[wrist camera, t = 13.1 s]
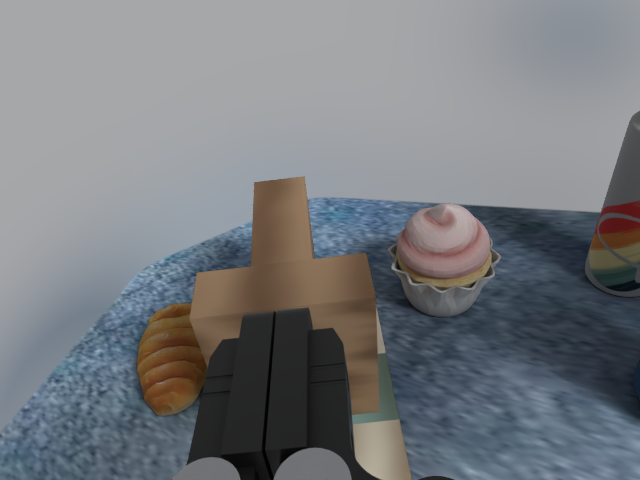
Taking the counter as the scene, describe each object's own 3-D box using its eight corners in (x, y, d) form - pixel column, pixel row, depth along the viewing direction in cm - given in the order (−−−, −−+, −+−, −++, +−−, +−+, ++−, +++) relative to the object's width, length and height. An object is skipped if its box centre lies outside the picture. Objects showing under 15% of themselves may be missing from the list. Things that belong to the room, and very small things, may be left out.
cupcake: (367, 301, 47) (363, 212, 41) (424, 247, 52) (428, 161, 46) (458, 351, 42) (470, 259, 36) (512, 286, 47) (530, 195, 41)
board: (368, 272, 50) (368, 269, 50) (448, 666, 27) (449, 664, 27) (234, 287, 50) (234, 284, 50) (199, 692, 27) (197, 691, 27)
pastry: (218, 414, 40) (206, 385, 38) (130, 426, 40) (113, 398, 37) (223, 322, 47) (213, 293, 45) (149, 333, 47) (136, 304, 45)
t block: (355, 280, 49) (348, 171, 41) (379, 411, 38) (375, 297, 30) (239, 293, 49) (210, 187, 41) (230, 429, 38) (189, 318, 30)
